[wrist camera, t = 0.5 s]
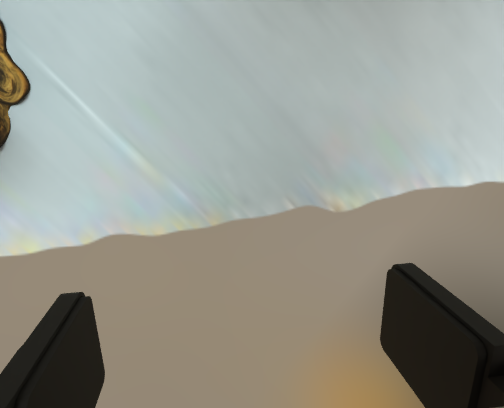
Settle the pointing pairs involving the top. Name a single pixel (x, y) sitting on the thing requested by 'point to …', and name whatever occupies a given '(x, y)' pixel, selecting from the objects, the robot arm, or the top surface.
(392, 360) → the robot arm
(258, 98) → the top surface
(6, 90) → the figurine
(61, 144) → the top surface
